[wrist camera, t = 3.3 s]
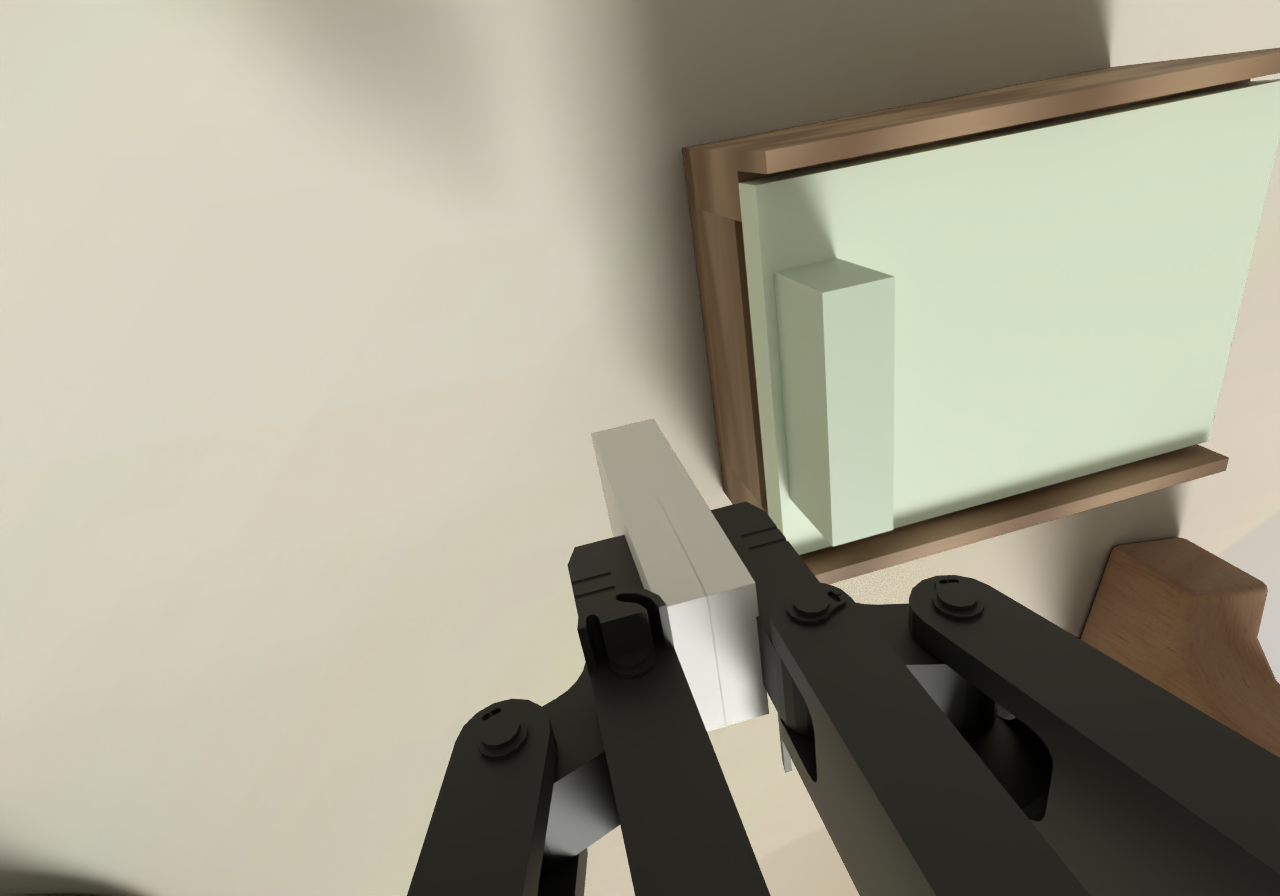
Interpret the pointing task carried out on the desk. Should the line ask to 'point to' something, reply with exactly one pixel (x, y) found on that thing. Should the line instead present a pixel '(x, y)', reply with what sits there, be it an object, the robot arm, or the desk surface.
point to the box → (880, 133)
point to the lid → (999, 307)
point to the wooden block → (1190, 632)
